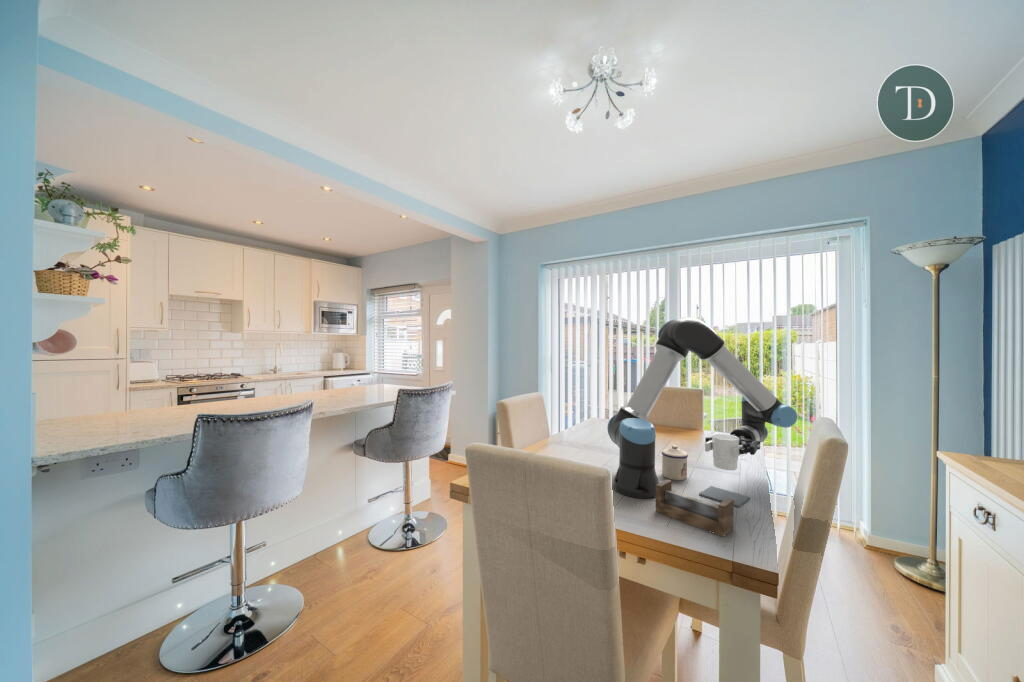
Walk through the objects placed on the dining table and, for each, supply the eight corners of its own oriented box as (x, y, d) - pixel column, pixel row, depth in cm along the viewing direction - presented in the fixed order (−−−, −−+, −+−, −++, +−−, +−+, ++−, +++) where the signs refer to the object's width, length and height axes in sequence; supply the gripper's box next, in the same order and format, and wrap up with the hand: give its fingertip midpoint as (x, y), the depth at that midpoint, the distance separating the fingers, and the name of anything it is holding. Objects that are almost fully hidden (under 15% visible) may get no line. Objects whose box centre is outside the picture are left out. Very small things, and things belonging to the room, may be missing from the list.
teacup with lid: (686, 482, 136) (687, 450, 136) (660, 477, 140) (660, 447, 140) (688, 472, 147) (688, 442, 147) (663, 468, 151) (664, 439, 151)
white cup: (728, 472, 119) (728, 441, 119) (706, 464, 126) (706, 435, 126) (744, 469, 122) (744, 438, 122) (722, 461, 129) (722, 432, 129)
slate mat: (699, 495, 125) (699, 493, 125) (711, 487, 132) (711, 485, 132) (739, 507, 116) (739, 505, 116) (749, 498, 123) (749, 497, 123)
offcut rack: (655, 511, 113) (655, 484, 113) (666, 504, 118) (667, 479, 118) (723, 536, 99) (724, 506, 99) (733, 528, 103) (733, 499, 103)
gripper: (777, 455, 128) (756, 470, 113) (714, 442, 143) (687, 454, 128) (778, 433, 128) (756, 445, 113) (714, 422, 143) (687, 432, 128)
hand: (719, 450), depth 121 cm, fingers closed on white cup, 8 cm apart
